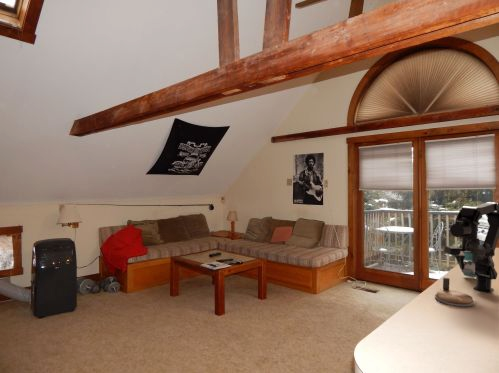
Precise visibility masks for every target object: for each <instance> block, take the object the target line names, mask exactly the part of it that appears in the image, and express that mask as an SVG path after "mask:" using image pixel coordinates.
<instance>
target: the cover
mask: <svg viewBox="0 0 499 373" xmlns="http://www.w3.org/2000/svg"><path fill="white" fill-rule="evenodd" d="M461 273H462V274H463V273H466V274H475V262H474V261H471V260H464V268H463V270H461Z"/></svg>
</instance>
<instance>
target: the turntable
mask: <svg viewBox="0 0 499 373" xmlns="http://www.w3.org/2000/svg"><path fill="white" fill-rule="evenodd" d="M450 281H451V280H450V278H449V277H443V278H442V290H441V289H440V290H437V291H436V294H437V297H438V298H440V299H442V300H444V301H447V302H451V303H456V304H470V303H472V302H473V301H474V299H473V296H471V295H469V294H468V293H465V292H461V291H457V290H453V289H450Z"/></svg>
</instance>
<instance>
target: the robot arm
mask: <svg viewBox="0 0 499 373" xmlns="http://www.w3.org/2000/svg"><path fill="white" fill-rule="evenodd" d="M483 216H486V218H487V219H486V220H487V223H488V225H489V226H488V229H487V231H486V232H487V233H486V235H485V238H484V241H483V243H480V239H479V237H478V232H479V231H478V230H479V227H478V226H479V225H481V223H480V220H481V219H482V218H483ZM454 220H455V221H454V224H452V225H451V226H450V228H449V231H450V234H451V235H452V236H453V237H454V238H459V239H461V244H460V245H459V247H456V246H454V245H451V246H448V245H446V246H444V249H443V251H444V253H446V254H448V255H450V256H454V258H455V259H456V261H457V264H458V266H459V269H460V270H461V271H462V270H463V268H464V258H465V256H464V253H472V259H473V261H474V262H475V274H472V275H476V276H477V277H476V284H475V286H474V287H473V290H477V291H481V292H485V293H489V294H490V293H491V292H493V291H494V288H493V287H492V281H493V280H497V278H498V272H497V270H496V268H495V263H494V259H493V257H494V256H495V254H496V249H497V248H496V247H497V245H498V242H499V202H496V201H495V202H492V201H488V202H487V201H486V202H485V203H482V204H478V205H475V206H466V205H464V206H462V207H461V208H460V210H459V212H458V213H457V217H456V218H455V219H454Z"/></svg>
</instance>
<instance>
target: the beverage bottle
mask: <svg viewBox="0 0 499 373" xmlns="http://www.w3.org/2000/svg"><path fill="white" fill-rule="evenodd" d="M463 255H464V256H465V258H464V260H471V261H473V259H472V253H463ZM462 274H463V276H466V277H468V278H469V277H470V278H477V276H476V275H472V274H466V273H463V272H462Z"/></svg>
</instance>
